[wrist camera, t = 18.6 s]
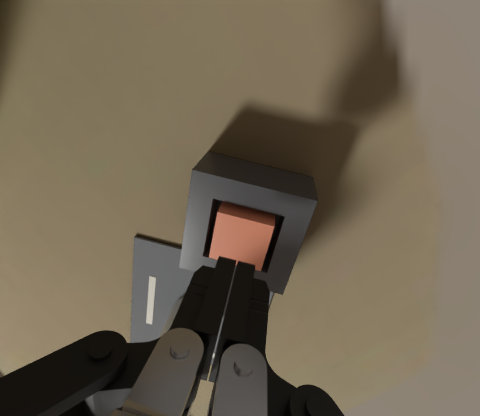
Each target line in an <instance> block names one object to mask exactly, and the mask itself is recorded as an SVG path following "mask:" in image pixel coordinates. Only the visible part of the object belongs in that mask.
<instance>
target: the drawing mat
mask: <svg viewBox="0 0 480 416" xmlns="http://www.w3.org/2000/svg"><path fill="white" fill-rule="evenodd" d="M181 250H182V248H180V247H177V246H173V245H169V244H165V243H161V242H157V241H154V240H150V239H146V238H142V237H138V236H135V237H134V255H133V283H132V312H131V341H130V343H136V342H148V341H152V340H155V339H158V337H159V335H160V333H161V331H162V329H163V327H164V325H165V322H166V320H167V318H168V316H169V314H170V312H171V310H172V308H173V305H174V303H175V302H176V301H177V300H178V299H180V298H182V297H184V295H185V293H186V290H187V288H188V286H189V284H190V281H191V279H192V276H193V274H194V271H191V270H187V269H183V268H179V265H180V258H181ZM232 283H233V282H232V281H231V285H230V289H229V293H228V297H227V301H226V305H225V309H224V313H223V317H222V321H221V325H220V329H219V333H218V337H217V341H216V345H215V349H214V353H213V357H212V361H211V365H213V361H214V356H215V352H216V348H217V344H218V340H219V336H220V332H221V328H222V324H223V320H224V316H225V312H226V308H227V304H228V300H229V295H230V291H231V287H232ZM273 293H274V292H270V297H269V304H270V301H271V298H272V296H273Z"/></svg>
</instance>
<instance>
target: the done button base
mask: <svg viewBox="0 0 480 416" xmlns="http://www.w3.org/2000/svg"><path fill="white" fill-rule="evenodd" d="M222 201H225V202H229V203H233V204H237V205H241V206H245V207H249V208H253V209H257V210H261V211H265V212H269V213H273V214H276V216H275V227H274V230H273V233H272V236H271V240H270V243H269V246H268V249H267V253H266V256H265V259H264V262H263V266H262V269H261V271H258V270H255V272H254V278H256V279H260V280H263V281H266V283H267V286H268V288H269V291H270V292H274V293H278V294H282V295H283V293H284V290H285V287H286V285H287V282H288V279H289V277H290V274H291V271H292V269H293V266H294V263H295V261H296V258H297V255H298V253H299V250H300V247H301V245H302V242H303V239H304V237H305V234H306V231H307V229H308V226H309V223H310V220H311V218H312V215H313V212H314V210H315V207H316V204H317V202H318V200H317V195H316V190H315V184H314V179H313V177H309V176H305V175H301V174H297V173H293V172H289V171H285V170H281V169H276V168H272V167H268V166H264V165H260V164H256V163H252V162H248V161H244V160H240V159H236V158H232V157H228V156H224V155H220V154H216V153H212V152H207V153H206V154H205V155H204V157H203V158H202V159H201V160H200V161H199V162H198V164H197V165H196V166H195V167H194V168H193V169H192V175H191V182H190V190H189V197H188V205H187V212H186V220H185V228H184V235H183V243H182V250H181V258H180V265H179V268H183V269H187V270H191V271H194V272H195V271H197V270H198V269H199V268H200V267H201V266H203V265H204V266H208V267H212V268H215V266H216V263H217V260H216V259H212V258H209V254H210V248H211V243H212V238H213V233H214V227H215V222H216V217H217V212H218V210H219V208H220V205H221V203H222ZM236 267H237V265H235V269H234V273H233V277H232V282H233V279H234V275H235V271H236Z"/></svg>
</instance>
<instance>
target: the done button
mask: <svg viewBox="0 0 480 416" xmlns="http://www.w3.org/2000/svg"><path fill="white" fill-rule="evenodd" d="M275 216H276V214H273V213H269V212H265V211H261V210H257V209H253V208H249V207H245V206H241V205H237V204H233V203H229V202H225V201H222V203H221V205H220V208H219V210H218V212H217V217H216V222H215V227H214V233H213V238H212V243H211V248H210V254H209V258H212V259H216V260H218V257H219V256H222V257H226V258H230V259H234V260H236V264H235V265H237V263H238V261H242V262H246V263H250V264H254V265H255V270H258V271H261V269H262V266H263V262H264V259H265V256H266V253H267V249H268V246H269V243H270V240H271V236H272V233H273V230H274V227H275Z"/></svg>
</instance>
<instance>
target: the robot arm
mask: <svg viewBox="0 0 480 416" xmlns="http://www.w3.org/2000/svg"><path fill="white" fill-rule="evenodd" d="M235 264H236V260H234V259H230V258H226V257H222V256H219V257H218V260H217V263H216V266H215V268H212V267H208V266H204V265H203V266H201V267H200V268H199V269H198V270H197V271H195V272H194V274H193V276H192V279H191V281H190V284H189V286H188V288H187V290H186V293H185V295H184V297H183V300H182V302H181V304H180V307H179V309H178V311H177V314H176V316H175V318H174V321H173V323H172V325H171V327H170V329H169V330H168V331H167V332H166V333H165V334H163V335H162V336H161V337H159V338H158V339H155V340H152V341H148V342H136V343H127V342H126V340H125V338H124V337H123V336H122V335H121V334H119V333H117V332H114V331H99V332H95V333H93V334H90V335H88V336H86V337H84V338H82V339H80V340H78V341H76V342H74V343H72V344H70V345H67V346H65V347H63V348H61V349H59V350H57V351H55V352H53V353H51V354H49V355H47V356H45V357H43V358H40V359H38V360H36V361H34V362H32V363H30V364H28V365H26V366H24V367H22V368H20V369H18V370H16V371H13V372H11V373H9V374H7V375H5V376H3V377H1V378H0V416H188V415H189V412H190V409H191V406H192V403H193V401H194V400H195V397H196V394H197V391H198V387H199V383H200V379H202V380H206V381H207V377H208V373H209V369H210V365H211V361H212V357H213V353H214V349H215V345H216V341H217V337H218V333H219V329H220V325H221V321H222V317H223V313H224V309H225V305H226V301H227V297H228V293H229V289H230V285H231V281H232V277H233V273H234V269H235ZM254 272H255V265H254V264H250V263H246V262H242V261H238V263H237V267H236V271H235V275H234V279H233V283H232V287H231V291H230V295H229V300H228V304H227V308H226V312H225V316H224V320H223V324H222V328H221V332H220V336H219V340H218V344H217V348H216V352H215V356H214V361H213V365H212V369H211V373H210V377H209V381H210V382H214V386H213V390H212V395H211V399H210V403H209V407H208V412H207V416H344V415H343V413H342V412H341V410H340V409H339V408H338V406H337V405H336V403H335V402H334V401H333V399H332V398H331V397H330V396H329V395H328V394H327V393H326V392H325V391H324V390H322V389H320V388H319V387H316V386H314V385H302V386H299V387H298V388H296V387H294V386H293V385H291V384H290V383H288V382H286V381H285V380H283V379H282V378H280V377H279V376H278V375H277V374H276V373H275V372H274V371H273V370H272V369H271V367H270V366H269V364H268V362H267V359H266V354H265V346H266V334H267V322H268V310H269V297H270V291H269V288H268V286H267V283H266V281H263V280H260V279H256V278H254Z"/></svg>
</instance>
